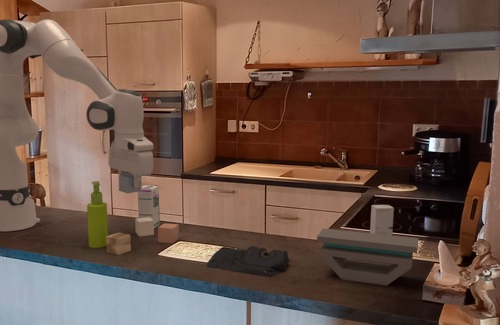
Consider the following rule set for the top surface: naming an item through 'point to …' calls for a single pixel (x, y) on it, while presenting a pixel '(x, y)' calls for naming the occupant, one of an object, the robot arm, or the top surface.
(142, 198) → the syrup box
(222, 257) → the crumpled black cloth
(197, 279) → the top surface
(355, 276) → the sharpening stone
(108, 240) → the oak cube
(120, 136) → the robot arm
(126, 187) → the slate-blue cube
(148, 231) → the cream cube
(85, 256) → the top surface
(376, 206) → the skincare box
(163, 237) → the terracotta cube
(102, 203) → the soap dispenser
